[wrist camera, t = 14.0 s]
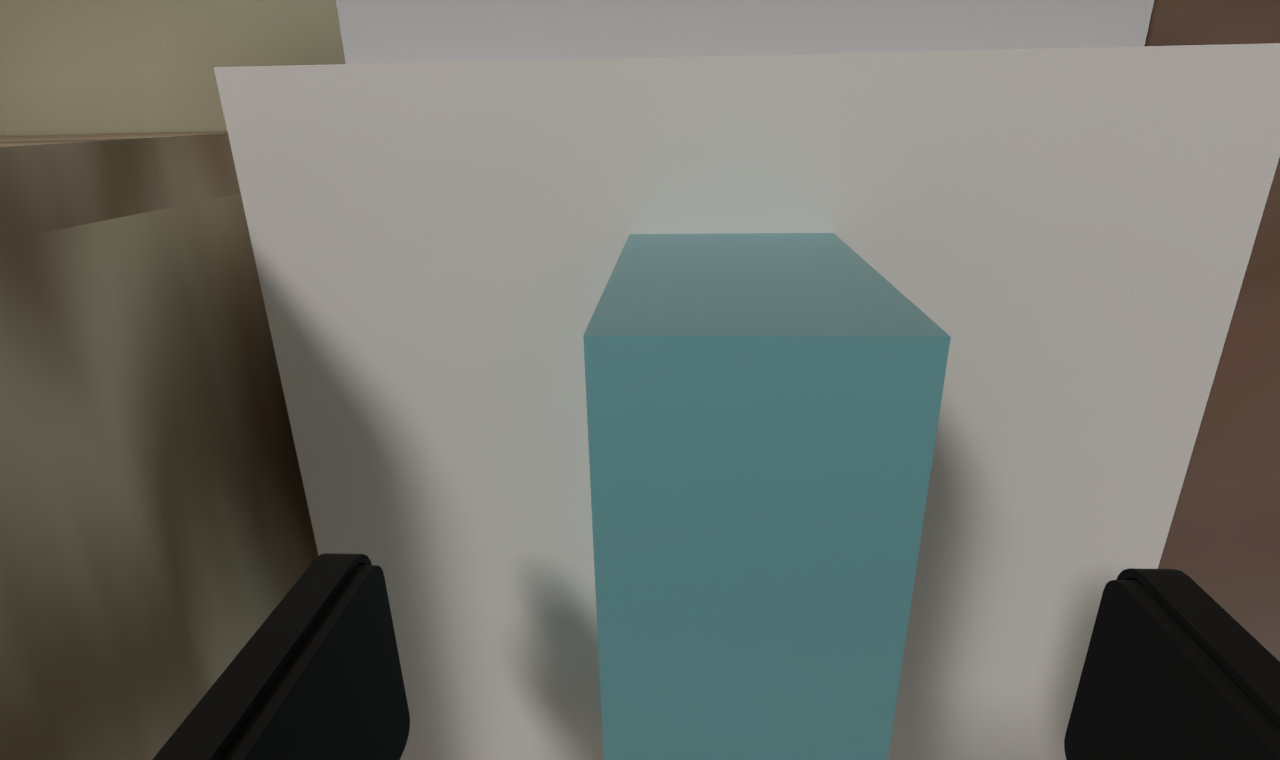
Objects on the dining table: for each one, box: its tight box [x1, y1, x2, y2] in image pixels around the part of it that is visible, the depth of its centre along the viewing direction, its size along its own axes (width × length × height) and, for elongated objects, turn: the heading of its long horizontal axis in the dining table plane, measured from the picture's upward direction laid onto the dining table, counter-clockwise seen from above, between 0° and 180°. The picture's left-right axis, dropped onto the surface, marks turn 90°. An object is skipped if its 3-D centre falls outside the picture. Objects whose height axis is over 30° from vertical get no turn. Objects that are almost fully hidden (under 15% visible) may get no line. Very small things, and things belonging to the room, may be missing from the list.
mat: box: [336, 0, 1154, 64], centre depth 15 cm, size 18×13×1 cm
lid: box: [214, 43, 1280, 760], centre depth 11 cm, size 15×15×7 cm
